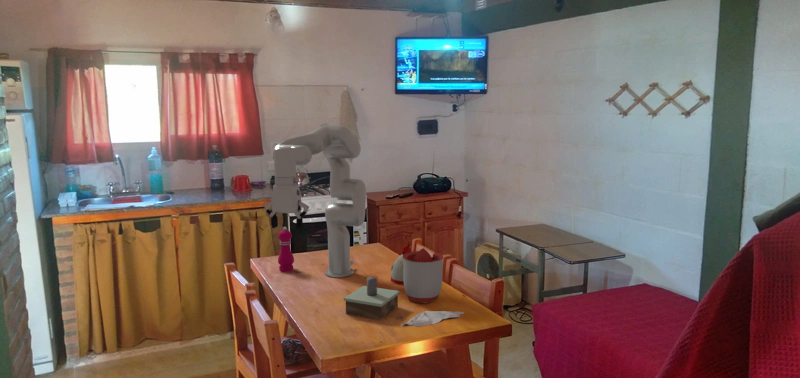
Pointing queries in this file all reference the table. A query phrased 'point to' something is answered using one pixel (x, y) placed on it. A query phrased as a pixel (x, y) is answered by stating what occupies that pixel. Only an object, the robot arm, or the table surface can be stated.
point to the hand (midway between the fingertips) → (287, 228)
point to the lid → (371, 294)
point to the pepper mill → (285, 251)
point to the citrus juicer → (422, 275)
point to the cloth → (431, 317)
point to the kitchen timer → (399, 268)
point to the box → (371, 309)
